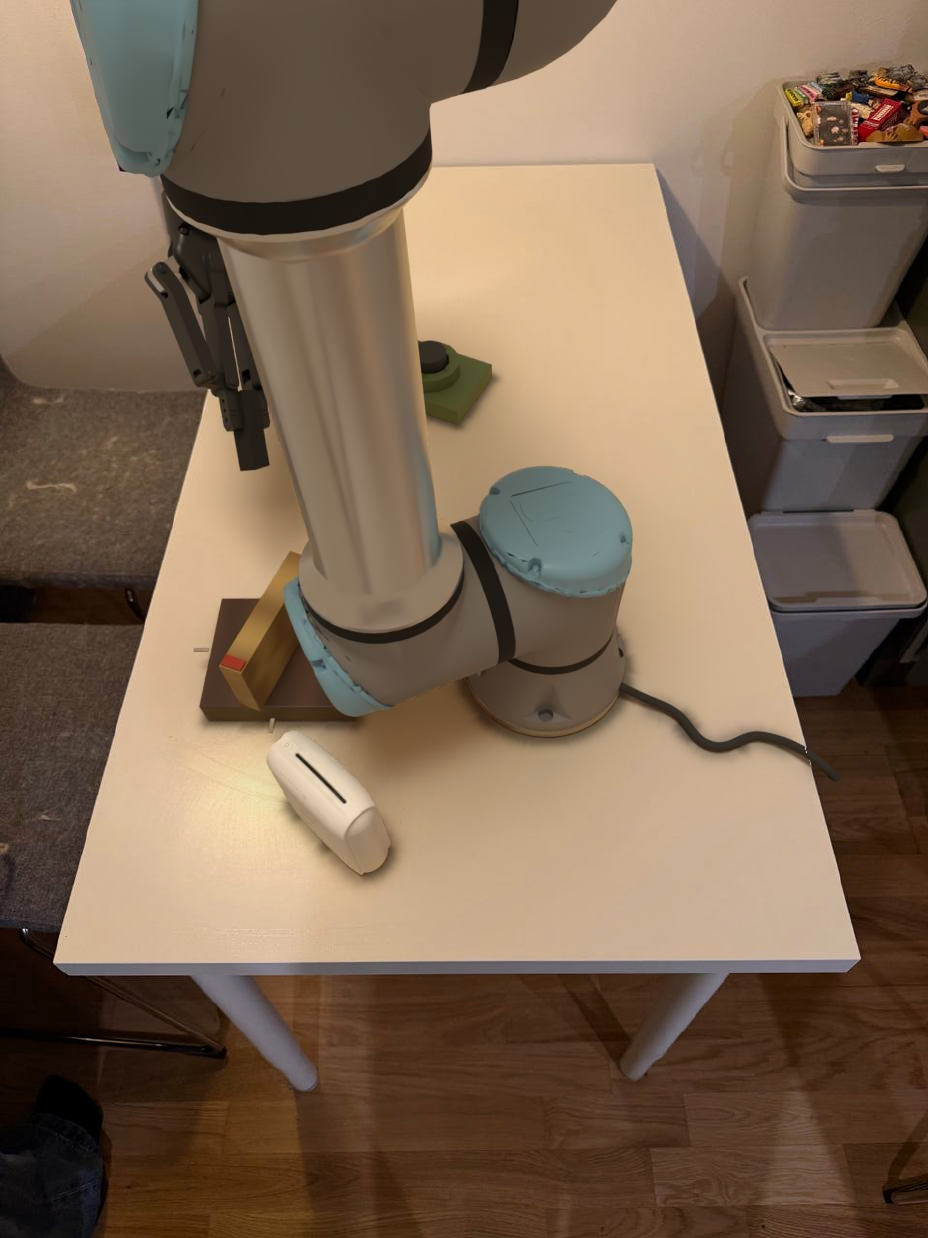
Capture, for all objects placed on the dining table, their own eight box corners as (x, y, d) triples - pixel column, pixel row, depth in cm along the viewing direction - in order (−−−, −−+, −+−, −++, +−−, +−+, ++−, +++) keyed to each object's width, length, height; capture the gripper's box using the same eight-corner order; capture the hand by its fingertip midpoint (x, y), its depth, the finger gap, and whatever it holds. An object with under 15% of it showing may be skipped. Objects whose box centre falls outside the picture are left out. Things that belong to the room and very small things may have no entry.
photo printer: (284, 804, 74) (250, 747, 64) (321, 771, 76) (293, 710, 66) (362, 885, 70) (339, 839, 60) (399, 848, 72) (383, 797, 62)
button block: (492, 378, 103) (492, 352, 100) (458, 425, 99) (456, 399, 96) (407, 350, 107) (404, 323, 103) (371, 394, 102) (367, 368, 99)
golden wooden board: (304, 593, 83) (289, 548, 77) (324, 599, 82) (310, 555, 76) (239, 704, 77) (217, 664, 70) (260, 711, 76) (240, 672, 70)
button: (452, 357, 100) (452, 345, 99) (436, 378, 98) (435, 366, 97) (423, 348, 101) (422, 336, 100) (407, 368, 99) (405, 356, 98)
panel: (383, 593, 86) (380, 575, 84) (370, 747, 77) (366, 732, 74) (218, 593, 87) (209, 575, 84) (186, 746, 78) (175, 732, 75)
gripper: (255, 215, 78) (297, 469, 80) (113, 194, 69) (166, 479, 72) (295, 182, 72) (340, 457, 75) (146, 155, 64) (202, 466, 66)
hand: (254, 468), depth 73 cm, fingers closed
